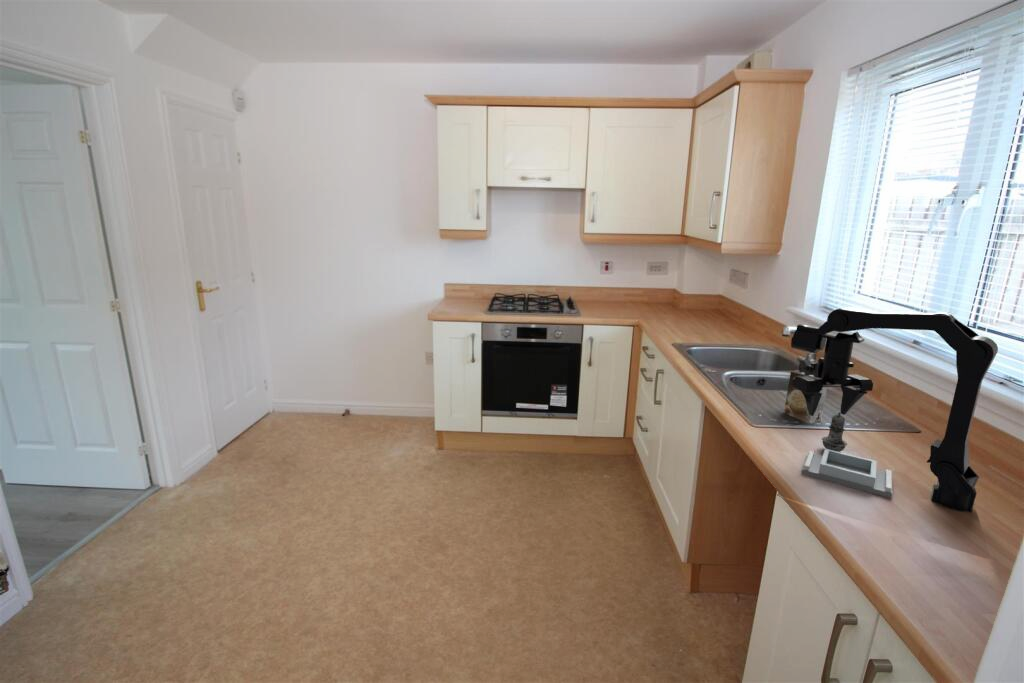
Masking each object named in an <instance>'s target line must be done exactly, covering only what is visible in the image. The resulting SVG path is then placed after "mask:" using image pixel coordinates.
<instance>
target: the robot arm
mask: <svg viewBox="0 0 1024 683" xmlns="http://www.w3.org/2000/svg"><path fill="white" fill-rule="evenodd" d="M867 329H868V330H869V329H882V330H883V329H886V330H887V329H888V330H909V331H910V330H911V331H914V330H915V331H932V332H933V331H934V332H935V333H936V334H937V335H938V336H940V337H941V339H942V340H944V342H945V343H946V344H947V345H948V346H949V347H950V348H951V349H953V350H954V351H955V356H956V357H955V359H956V360H955V362H956V363H955V364H956V366H955V367H956V374H957V381H956V385H955V390H954V394H953V398H952V402H951V406H950V407H951V408H950V411H949V415H948V419H947V424H946V428H945V432H944V437H943V439H942V440H941V439H939V438H936V439H934V441H933V442H932V443H931V445H930V455H929V458H928V459H927V460H926V463H930V464H929V469H930V470H929V471H930V472H932V474H933V475H934V476H935V477H936V478H937V482H936V484H933V485H932V489H931V492H930V501H931V502H933V503H936V504H939V505H941V506H942V507H945V508H946V509H950V510H952V511H957V512H968V513H972V512H973V508H974V505H975V501H976V497H977V489H976V485H977V483H978V482H979V479H980V476H979V475H978V474H977V473H976V472H975V470H974V469H973V468H972V467H971V466H970V446H969V437H970V431H971V427H972V424H973V419H974V416H975V411H976V407H977V404H978V399H979V395H980V392H981V391H980V390H981V387H982V385H983V384H982V383H983V380H984V378H985V377H986V374H987V373H988V371H989V369H990V367H991V365H992V363H993V362H994V360H995V358H996V355H997V353H998V351H999V347H998V345H997V343H996V342H995V341H994V340H993V339H992V338H989V337H988V336H983V335H979V334H978V333H976V332H975V331H974V330H973V329H972V328H970V327H968V326H967V325H966V324H964V323H962V321H959V320H958V319H957V318H956V317H954V315H953V314H951V313H949V312H946V311H940V312H902V311H901V312H898V311H897V312H896V311H894V312H893V311H891V312H888V311H887V312H886V311H873V310H869V309H863V308H857V307H852V306H845V307H844V306H843V307H840V308H836V309H833V310H832V311H831V312H829V314H828V316H827V319H826V321H825V322H824V323H823V324H821V325H820V326H819V327H817V326H811V325H808V324H803V323H801V324H797V325H796V329H795V330H794V332H793V335H792V337H791V339H790V346H791V349H793V350H798V351H802V352H808V353H814V354H818V353H819V351H823V350H824V353H823V357H819V359H817V362H816V363H815V362H814V363H812V362H811V360H809V359H808V360H805V359H804V360H800V361H799V364H798V370H799V371H800V372H801V373H802V372H804V374H805V376H796V377H794V378H793V382H792V386H794V387H796V388H797V390H800V391H801V392H802V393H803V395H804V397H805V400H806V404H807V408H808V412H809V415H811V416H813V415H814V413H815V411H816V409H817V406H818V404H819V401H820V398H821V396H822V393H819V392H820V391H821V390H822V387H827V388H832V387H833V388H834V387H835V388H836V387H837V388H838V387H840V389H841V391H842V397H841V402H840V413H841V414H840V415H842V416H843V415H846V414H847V413H848V412H849V411H850V409H852V407H853V406H854V405H856V403H857V402H858V401H859V400H860V399H862V397H863V396H864V395H867V394H868V392H872V391H873V388H874V382H873V380H872V379H871V378H868V377H867V376H866V377H865V376H863V375H860V374H857V373H856V374H855V373H854V374H849V369H850V368H854V365H855V363H854V362H851V359H852V352H853V348H854V343H855V344H860V343H862V342H864V341H865V339H864V338H863V337H862V335H860V333H859V331H861V330H867ZM854 331H855V332H854ZM832 332H836V333H837V334H836V335H835V334H829V333H832ZM846 332H853V333H852V334H851V333H846ZM809 375H814V377H816V378H820V380H817V379H815V378H812V377H810V376H809Z"/></svg>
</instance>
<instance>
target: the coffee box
mask: <svg viewBox="0 0 1024 683" xmlns="http://www.w3.org/2000/svg"><path fill="white" fill-rule="evenodd" d="M796 376H805V374H804V372H802V373H801V372H800V371H799V369H795V370H791V371H790V373H789V380H788V386H787V393H786V397H785V398H786V399H785V405H784V410H783V413H784V414H786V415H788V416H790V417H793V418H795V419H796V420H800V421H801V422H804V423H806V424H808V423H811V424H815V422H816V423H818V422H819V423H820V422H821V421H822V418H823V413H824V407H825V402H826V397H827V392H828V387H822V390H821V391H820V392H819V393H822V396H821V398H820V401H819V404H818V406H817V409H816V411H815V413H814V415H813V416H811V415H809V412H808V408H807V404H806V400H805V397H804V395H803V393H802V392H801V391H800V390H797V388H796V387H794V386H792V382H793V378H794V377H796ZM809 376H810V377H812V378H815V379H817V380H820V378H816V377H814V375H809Z"/></svg>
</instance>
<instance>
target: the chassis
mask: <svg viewBox="0 0 1024 683" xmlns="http://www.w3.org/2000/svg"><path fill="white" fill-rule="evenodd" d="M824 449H825V451H823V453H822V455H819V454H815V451H814V450H809V452H808V454H807V455H806V459H805V462H804V464H803V466H802V469H801V474H802V475H805V476H808V477H812V478H816V479H819V480H823V481H826V482H830V483H832V484H833V483H834V484H837V485H841V486H844V487H847V488H848V487H849V488H853V489H854V490H855V489H856V490H859V491H863V492H867V493H870V494H873V495H878V496H881V497H884V498H887V499H892V497H893V473H892V470H891V469H885V471H883V470H879V469H877V462H878V461H877V460H874V459H870V458H865V457H862V456H859V455H858V456H857V455H854V454H849V453H845V452H842V451H840V452H837V451H833V450H829V449H826V448H824Z"/></svg>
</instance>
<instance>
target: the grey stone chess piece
mask: <svg viewBox="0 0 1024 683" xmlns="http://www.w3.org/2000/svg"><path fill="white" fill-rule="evenodd" d="M845 419H846V418H845V417H844V416H843V415H842V414H841V411H840V412H838V413H837V414H835V415H833V416H832V418H831V423H830V425H829V426H828V428H829V431H828V435H827V436H823V437H822V438H821V440H822V445H823V447H824V449H823V450H822V451H823V452H824V451H825V449H829V450H833V451H837V452H842V451H844V450H845V448H846V446H847V445H848V443H847V442H846V441H845V440H843V434H844V431H846V429H845V428H844V427H845V421H846V420H845Z"/></svg>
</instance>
